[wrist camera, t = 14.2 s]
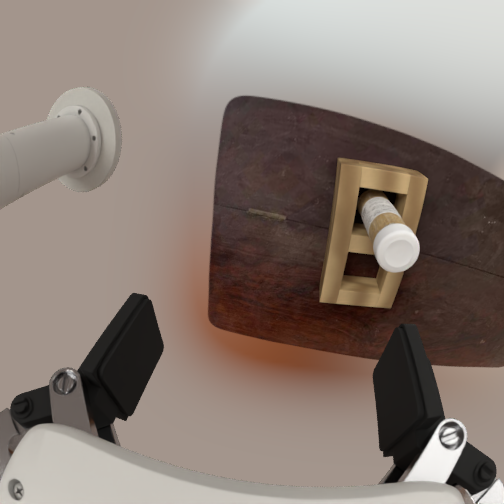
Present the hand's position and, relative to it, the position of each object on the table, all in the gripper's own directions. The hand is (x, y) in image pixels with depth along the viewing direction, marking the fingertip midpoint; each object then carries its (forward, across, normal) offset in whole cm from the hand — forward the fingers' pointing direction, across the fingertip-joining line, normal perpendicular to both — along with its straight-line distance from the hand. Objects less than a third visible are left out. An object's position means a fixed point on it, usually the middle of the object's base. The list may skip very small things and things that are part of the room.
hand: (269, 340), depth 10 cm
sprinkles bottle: (+29, -11, +4) cm, 31 cm away
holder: (+28, -11, +8) cm, 32 cm away
